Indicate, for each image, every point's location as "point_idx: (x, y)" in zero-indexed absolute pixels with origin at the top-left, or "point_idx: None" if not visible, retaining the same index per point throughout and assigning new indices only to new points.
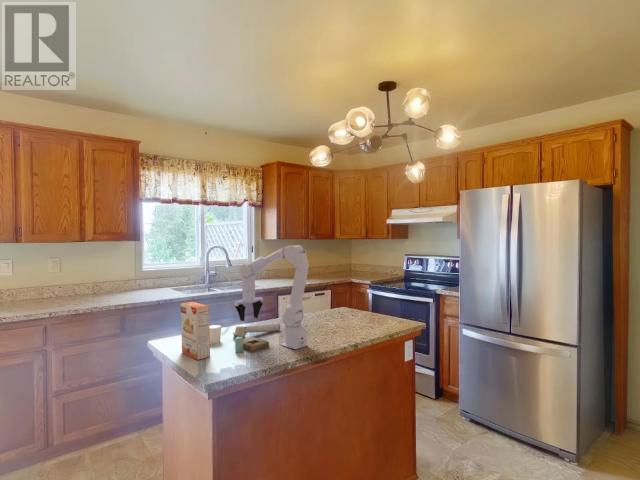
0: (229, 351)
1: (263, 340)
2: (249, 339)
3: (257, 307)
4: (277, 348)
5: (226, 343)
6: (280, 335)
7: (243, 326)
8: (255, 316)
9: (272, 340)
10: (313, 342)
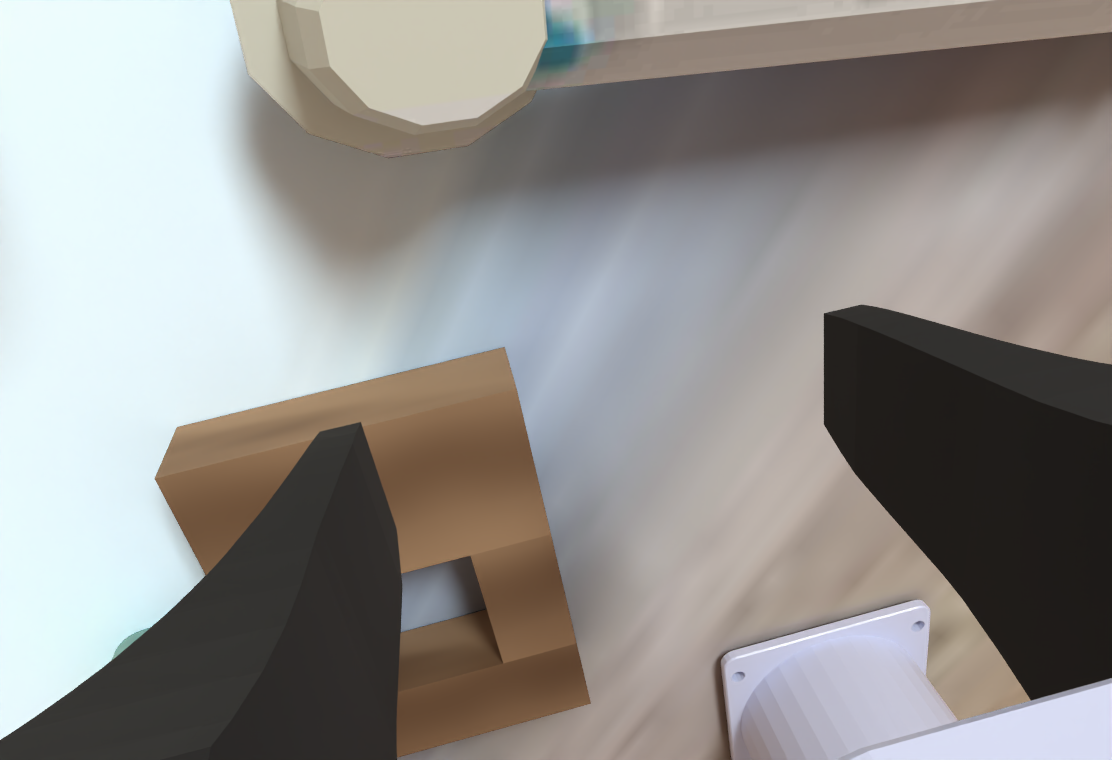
0: (38, 583)
1: (563, 636)
2: (411, 508)
3: (1052, 689)
4: (628, 712)
5: (55, 169)
6: (1026, 270)
7: (523, 34)
8: (844, 394)
9: (777, 433)
10: (1018, 695)
